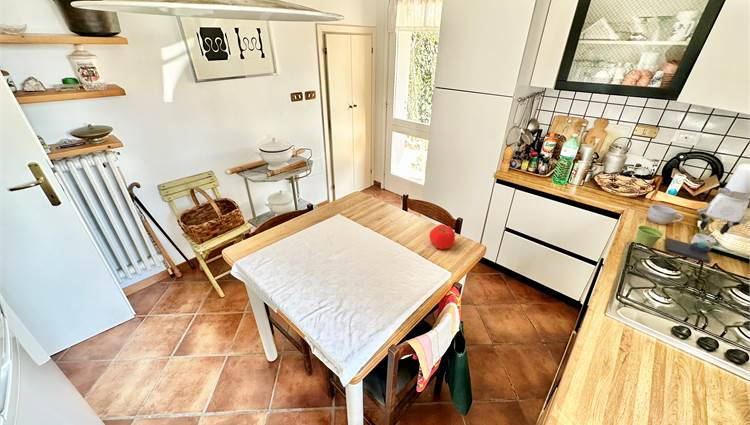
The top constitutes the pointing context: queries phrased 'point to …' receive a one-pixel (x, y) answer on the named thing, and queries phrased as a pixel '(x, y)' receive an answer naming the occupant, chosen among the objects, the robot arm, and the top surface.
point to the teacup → (662, 214)
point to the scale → (687, 250)
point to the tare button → (702, 245)
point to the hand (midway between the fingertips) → (711, 230)
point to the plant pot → (648, 235)
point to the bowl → (703, 239)
